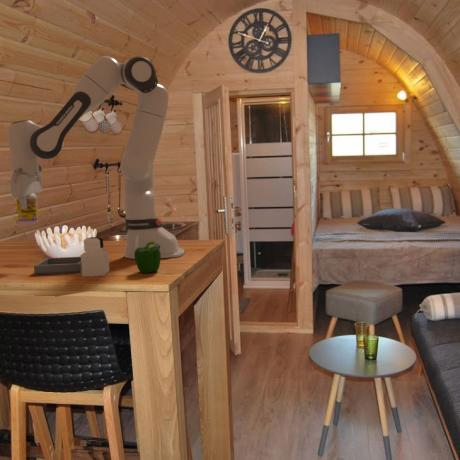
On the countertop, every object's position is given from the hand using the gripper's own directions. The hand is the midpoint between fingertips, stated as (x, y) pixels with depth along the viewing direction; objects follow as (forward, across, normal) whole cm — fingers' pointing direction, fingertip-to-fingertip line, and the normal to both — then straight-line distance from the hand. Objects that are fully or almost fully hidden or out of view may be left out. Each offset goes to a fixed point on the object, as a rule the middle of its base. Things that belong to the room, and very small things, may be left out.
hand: (29, 207), depth 193 cm
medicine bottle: (+21, -17, -26) cm, 37 cm away
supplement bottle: (+6, 0, +1) cm, 6 cm away
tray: (+21, -8, -12) cm, 25 cm away
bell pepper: (+21, -17, -43) cm, 51 cm away
